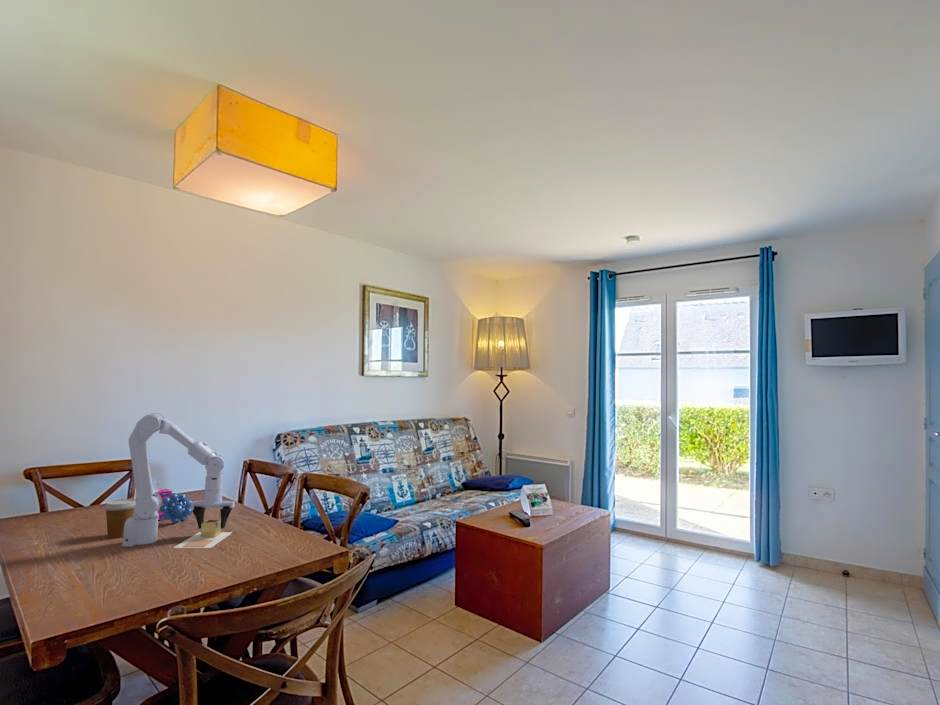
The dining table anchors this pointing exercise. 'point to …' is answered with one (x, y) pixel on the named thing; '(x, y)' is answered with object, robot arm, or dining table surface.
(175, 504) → the grapes
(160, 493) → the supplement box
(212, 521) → the sleeve
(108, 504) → the disposable coffee cup
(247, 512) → the dining table surface
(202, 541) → the board
